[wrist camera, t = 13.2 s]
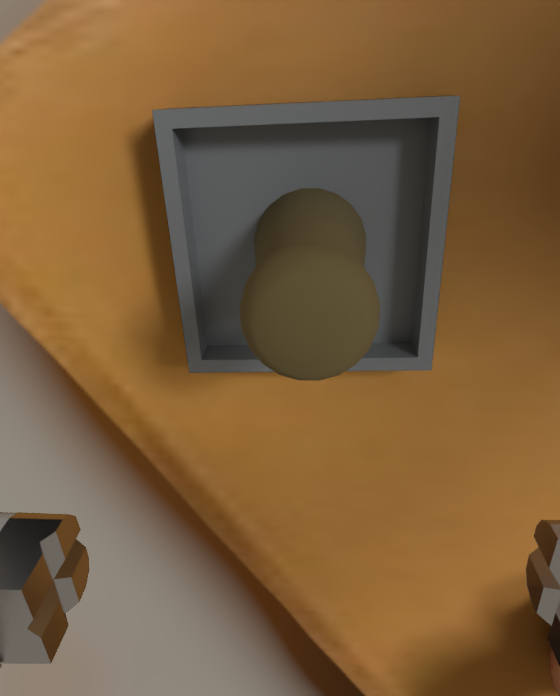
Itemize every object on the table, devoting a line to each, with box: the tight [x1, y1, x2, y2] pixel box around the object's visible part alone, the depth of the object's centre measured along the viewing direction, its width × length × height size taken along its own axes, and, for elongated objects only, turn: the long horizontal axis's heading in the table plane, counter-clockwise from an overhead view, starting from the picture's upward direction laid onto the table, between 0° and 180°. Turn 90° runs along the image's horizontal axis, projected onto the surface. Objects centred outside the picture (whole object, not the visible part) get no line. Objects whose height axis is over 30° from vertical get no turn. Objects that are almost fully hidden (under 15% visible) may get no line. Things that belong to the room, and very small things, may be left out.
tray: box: [152, 96, 460, 373], centre depth 27 cm, size 14×14×2 cm
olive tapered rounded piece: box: [239, 188, 380, 380], centre depth 22 cm, size 6×6×11 cm
